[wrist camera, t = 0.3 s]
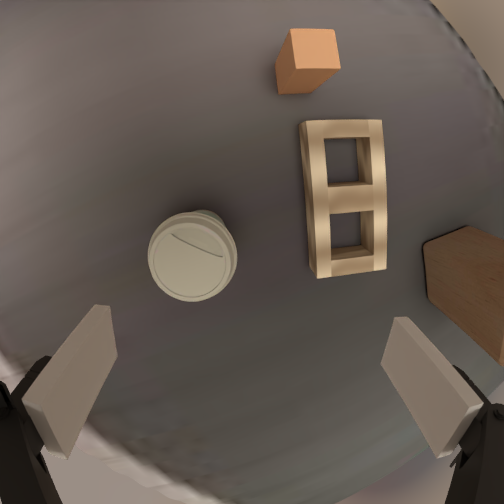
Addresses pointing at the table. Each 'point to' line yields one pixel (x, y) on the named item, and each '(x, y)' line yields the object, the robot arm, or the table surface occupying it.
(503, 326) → the block
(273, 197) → the table surface
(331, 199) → the socket block
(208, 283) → the coffee cup
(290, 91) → the peg
